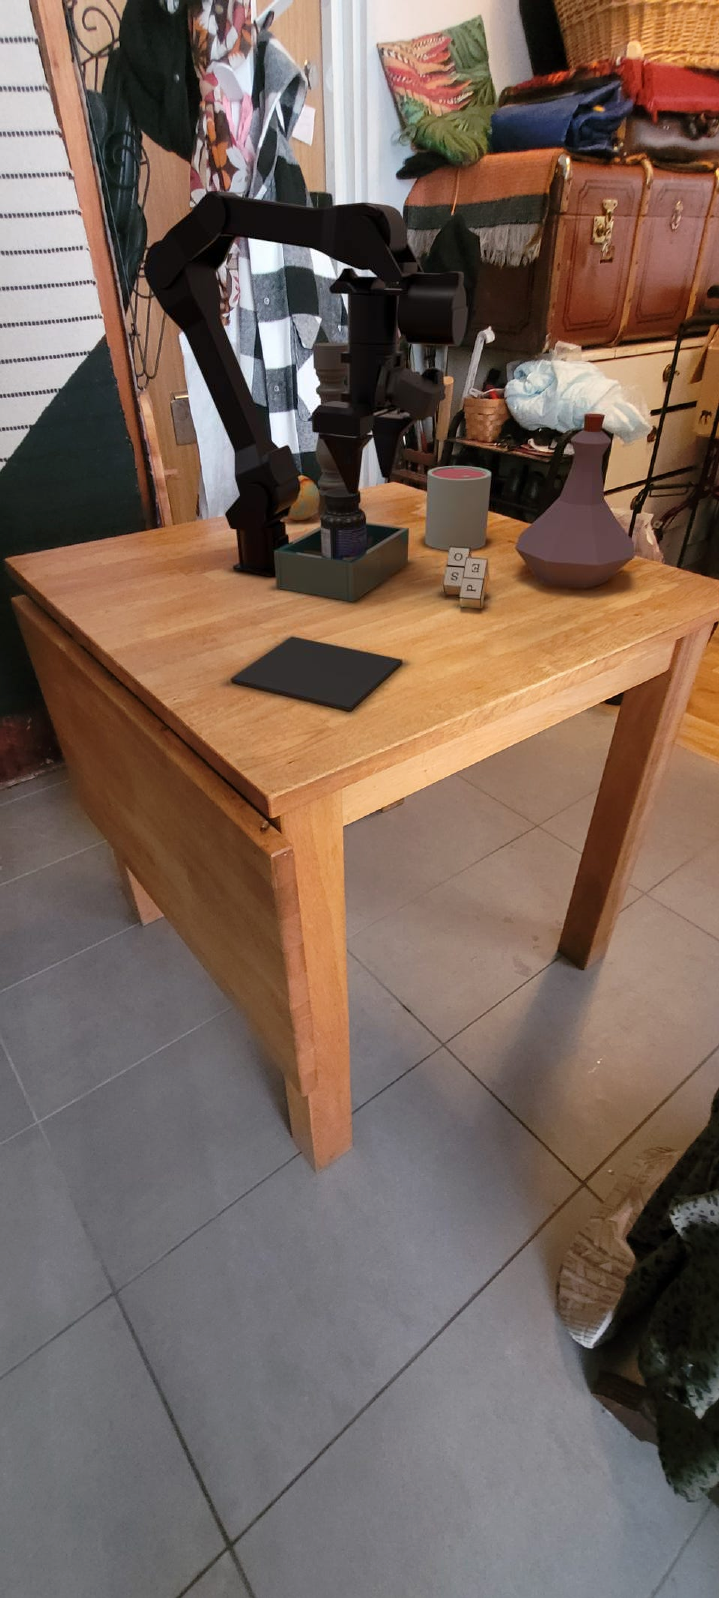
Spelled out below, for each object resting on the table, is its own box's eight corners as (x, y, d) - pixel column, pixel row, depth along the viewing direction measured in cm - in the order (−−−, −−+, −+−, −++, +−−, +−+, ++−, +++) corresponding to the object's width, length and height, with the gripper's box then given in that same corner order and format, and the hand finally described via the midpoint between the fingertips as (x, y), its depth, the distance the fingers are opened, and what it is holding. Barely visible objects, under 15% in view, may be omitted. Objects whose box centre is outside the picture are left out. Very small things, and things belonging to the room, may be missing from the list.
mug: (488, 550, 114) (495, 479, 108) (426, 550, 114) (429, 480, 109) (478, 524, 125) (483, 459, 120) (421, 524, 125) (424, 459, 120)
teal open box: (276, 588, 102) (273, 550, 99) (337, 552, 114) (336, 517, 111) (353, 602, 98) (352, 563, 95) (408, 563, 110) (409, 527, 107)
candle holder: (359, 509, 133) (358, 343, 119) (340, 518, 129) (336, 346, 115) (330, 504, 136) (325, 341, 122) (310, 513, 132) (302, 345, 117)
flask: (487, 581, 103) (501, 418, 92) (542, 550, 114) (561, 400, 102) (603, 608, 95) (635, 432, 84) (651, 572, 106) (685, 412, 94)
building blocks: (482, 617, 98) (492, 559, 99) (481, 599, 93) (491, 538, 94) (441, 613, 99) (451, 556, 100) (437, 595, 94) (448, 535, 95)
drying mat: (231, 682, 79) (230, 678, 79) (291, 640, 88) (291, 636, 88) (350, 711, 74) (350, 707, 74) (402, 663, 83) (402, 659, 82)
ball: (270, 518, 129) (267, 474, 125) (304, 511, 133) (302, 468, 129) (293, 528, 125) (291, 482, 121) (328, 520, 128) (327, 476, 124)
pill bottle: (372, 570, 107) (372, 488, 101) (358, 585, 103) (357, 499, 96) (331, 566, 109) (329, 484, 103) (315, 580, 104) (312, 495, 98)
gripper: (401, 354, 78) (395, 512, 87) (468, 339, 91) (457, 477, 100) (307, 347, 82) (311, 499, 91) (384, 334, 95) (381, 467, 105)
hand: (370, 485), depth 97 cm, fingers open, 9 cm apart
